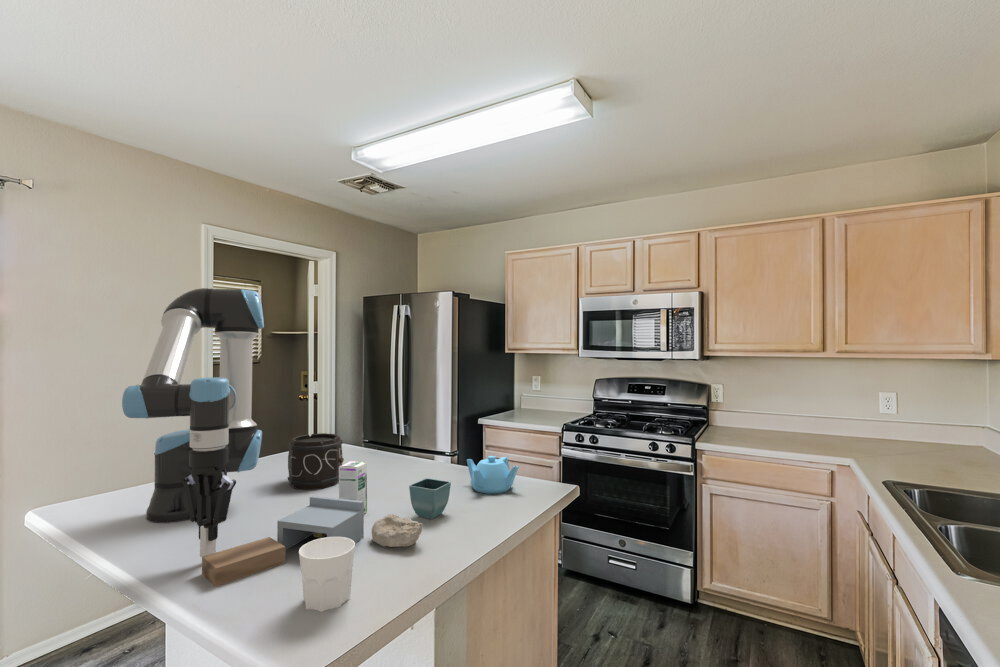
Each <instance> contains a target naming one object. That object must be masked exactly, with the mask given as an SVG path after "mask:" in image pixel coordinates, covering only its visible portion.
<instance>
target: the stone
mask: <svg viewBox="0 0 1000 667" xmlns="http://www.w3.org/2000/svg"><path fill="white" fill-rule="evenodd" d="M423 527H424V525H423V522H419V521H416V520H412V519H411V518H409V517H405V518H402V517H401V516H399V515H397V514H394V513H393V514H392V513H389V514H387V515H386V516H384V517H383V518H382V519H381V518H380V519H377V520H376V521H375V522H373V525H372V527H371V537H372V538H371V539H372V540H371V541H373V542H374V543H376V544H378V545H380V546H381V547H389V548H392V547H404V548H405V547H409V546H413V545H415V544H416V543H417V541H418V540H419V538H420V535H421V534H422V532H423Z"/></svg>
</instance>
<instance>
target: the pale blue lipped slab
mask: <svg viewBox="0 0 1000 667" xmlns="http://www.w3.org/2000/svg"><path fill="white" fill-rule="evenodd" d="M364 517H365V514H364V501H357V500H348V499H339V497H338V498H337V497H336V498H335V497H327V496H326V497H325V496H318V495H311V496H309V505H307V506H305V507H303V508H301V509H299V510H297V511H295V512H292V513H290V514H288V515H287V516H285V517H283V518H281V519H278V520H277V526H276V527H277V530H276V534H277V535H276V536H277V537H276V538H277V539H276V541H277V542H279V543H280V544H282V545H284V546H285V551H286V550H288V549H290V548H292V547H294V546H295V545H296V544H299V543H300V542H301V541H303V540H305V539H307V538H308V537H310V536H312V535H313V537H314V538H318V539H320V538H325V536H326V537H345V538H349V539H351V540H353V541H354V542H355V544H357V543H358V542H359V541H361V540H362V539H364V534H365V533H364V532H365V531H364V529H365V528H364V527H365V526H364V519H365V518H364Z"/></svg>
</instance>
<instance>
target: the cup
mask: <svg viewBox="0 0 1000 667" xmlns="http://www.w3.org/2000/svg"><path fill="white" fill-rule="evenodd" d="M355 547H356V543H355V542H354V541H353V540H351V539H349V538H345V537H327V536H326V537H322V538H317V539H313V540H311V541H308V542H307V543H305V544H303V545H301V547H299V550H298V556H299V558H298V559H299V564H300V572H301V578H302V579H301V580H302V597H303V602H304V603H305V610H315V611H319V612H320V613H323V612H324V611H327V610H331V609H338V608H341V605H342V604H344V603H345V602H346V601H348V600H350V599H351V592H352V579H353V570H354V569H353V567H354V558H355Z"/></svg>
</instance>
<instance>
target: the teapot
mask: <svg viewBox="0 0 1000 667" xmlns="http://www.w3.org/2000/svg"><path fill="white" fill-rule="evenodd" d="M466 463H467V467H468V472H469V476H470V486H471V487H472V488H473V490H475V491H476V492H478V493H480V494H489V495H491V494H493V495H494V494H502V493H505V492H508V490H510V488H511V487H512V486H513V483H514V481H515V478H516V475H517V473H518V469H519V466H518V465H517V466H516V465H513V466H512V468H511V469H510V464H509V459H508V457H507V456H501V457H500V458H497V456H496V455H488V456H487V458H485V459H481V460H480V461H479V462H478V463H477V465H476V464H475V463H474V460H473V459H471V458H468V459H466Z"/></svg>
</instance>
